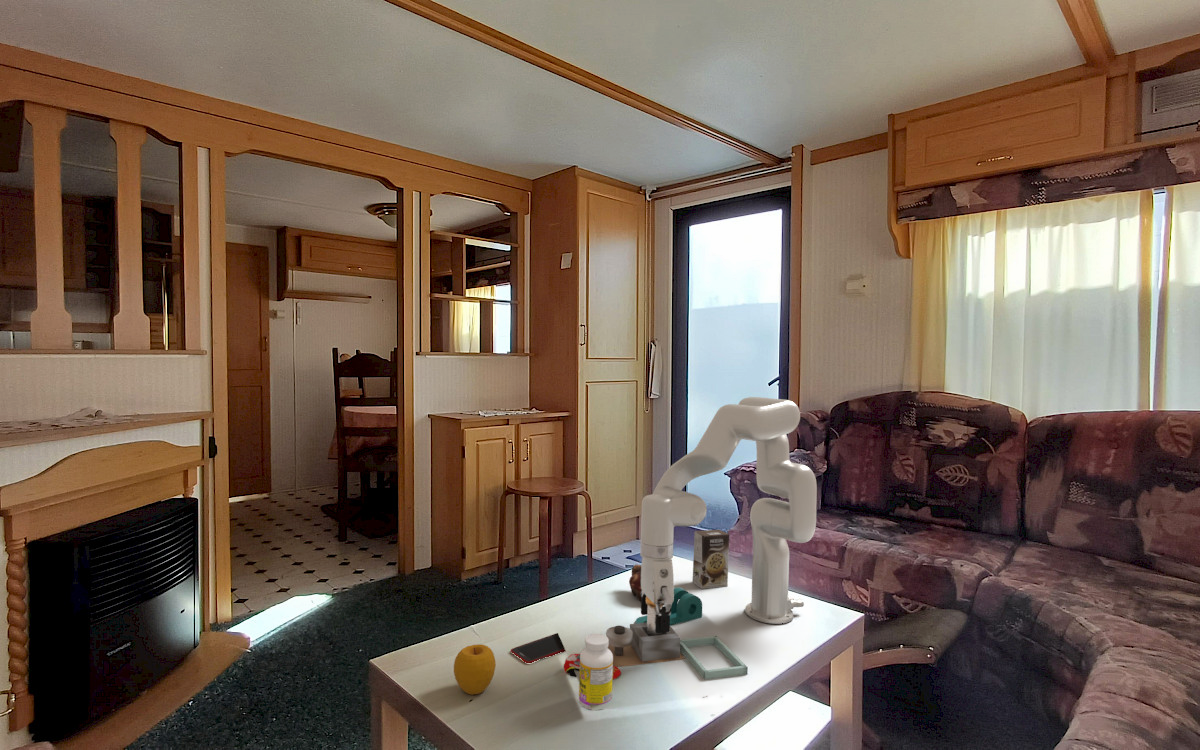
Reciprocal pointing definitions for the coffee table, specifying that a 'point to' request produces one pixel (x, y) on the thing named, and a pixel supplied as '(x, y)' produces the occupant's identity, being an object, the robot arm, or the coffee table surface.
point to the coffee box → (711, 558)
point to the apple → (474, 668)
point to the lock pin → (652, 617)
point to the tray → (714, 673)
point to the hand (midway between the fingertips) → (654, 622)
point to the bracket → (681, 608)
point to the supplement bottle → (595, 671)
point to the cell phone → (539, 648)
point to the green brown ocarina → (636, 581)
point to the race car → (574, 664)
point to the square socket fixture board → (642, 645)
